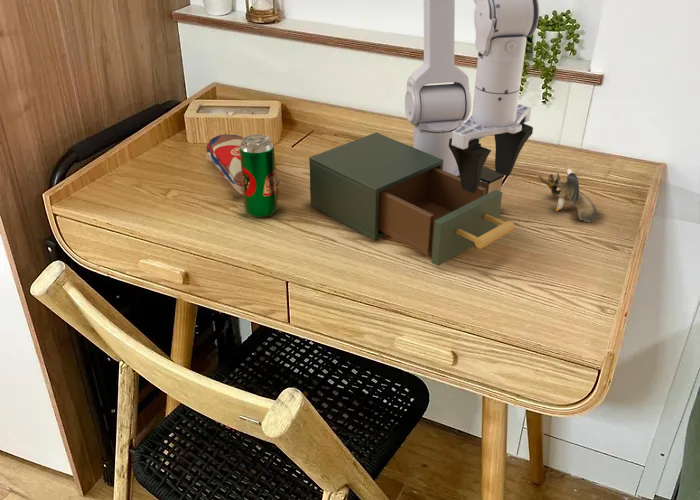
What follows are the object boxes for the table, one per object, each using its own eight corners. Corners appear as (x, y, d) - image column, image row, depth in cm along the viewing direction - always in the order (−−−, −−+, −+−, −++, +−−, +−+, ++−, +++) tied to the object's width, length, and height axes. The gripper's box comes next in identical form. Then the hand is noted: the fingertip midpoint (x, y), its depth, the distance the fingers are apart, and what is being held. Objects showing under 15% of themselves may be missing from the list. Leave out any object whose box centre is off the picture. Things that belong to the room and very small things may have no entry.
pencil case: (213, 207, 112) (210, 178, 109) (205, 155, 128) (202, 129, 125) (283, 199, 114) (281, 171, 112) (266, 150, 130) (264, 124, 128)
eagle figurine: (526, 198, 112) (569, 213, 105) (545, 156, 112) (589, 168, 104) (556, 213, 117) (598, 228, 109) (574, 173, 116) (618, 185, 109)
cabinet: (439, 208, 112) (443, 159, 107) (374, 240, 104) (376, 189, 99) (375, 178, 121) (376, 132, 116) (310, 205, 112) (309, 157, 108)
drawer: (524, 245, 101) (530, 203, 98) (465, 281, 93) (470, 237, 90) (428, 200, 112) (431, 162, 109) (368, 229, 105) (369, 188, 101)
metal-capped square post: (480, 203, 113) (485, 166, 110) (499, 211, 111) (504, 174, 108) (466, 210, 111) (470, 173, 108) (485, 219, 109) (489, 181, 106)
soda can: (272, 220, 108) (267, 148, 102) (240, 217, 109) (234, 145, 103) (281, 205, 113) (277, 134, 106) (251, 202, 113) (245, 131, 107)
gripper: (487, 108, 85) (476, 208, 92) (555, 81, 93) (540, 175, 101) (442, 93, 89) (435, 190, 96) (511, 69, 98) (499, 159, 105)
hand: (486, 181), depth 99 cm, fingers open, 7 cm apart
